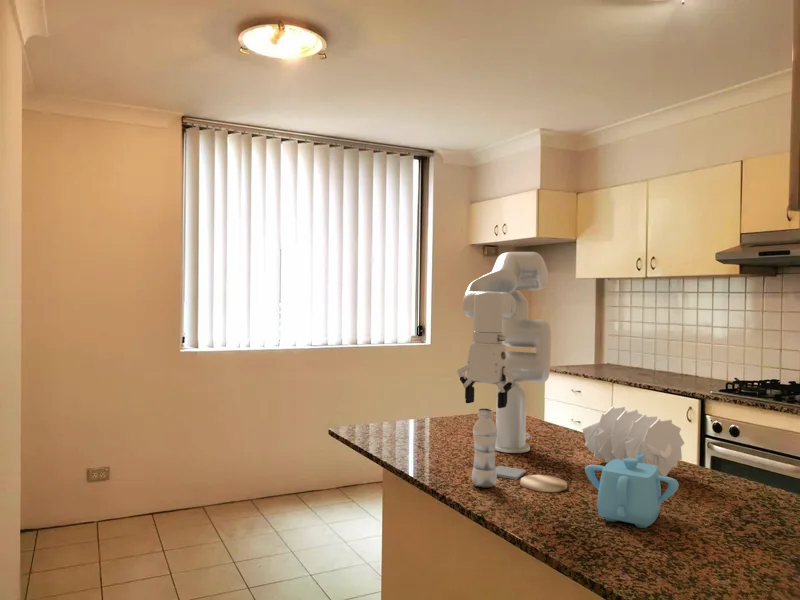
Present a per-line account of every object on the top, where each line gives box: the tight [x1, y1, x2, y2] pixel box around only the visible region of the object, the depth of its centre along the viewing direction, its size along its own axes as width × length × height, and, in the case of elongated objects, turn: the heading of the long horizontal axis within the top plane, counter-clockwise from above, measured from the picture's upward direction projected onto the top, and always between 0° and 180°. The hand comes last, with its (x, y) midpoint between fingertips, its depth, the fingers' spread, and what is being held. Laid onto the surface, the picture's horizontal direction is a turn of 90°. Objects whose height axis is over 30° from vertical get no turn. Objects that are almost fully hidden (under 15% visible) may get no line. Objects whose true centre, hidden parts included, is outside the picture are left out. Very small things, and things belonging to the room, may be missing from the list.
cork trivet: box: [520, 474, 568, 493], centre depth 160 cm, size 12×12×1 cm
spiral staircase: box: [582, 406, 685, 477], centre depth 175 cm, size 18×18×25 cm
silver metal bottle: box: [471, 408, 498, 488], centre depth 157 cm, size 6×7×20 cm
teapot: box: [584, 453, 680, 529], centre depth 138 cm, size 18×16×14 cm
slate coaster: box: [495, 465, 527, 481], centre depth 169 cm, size 8×8×1 cm
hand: (485, 405), depth 157 cm, fingers open, 9 cm apart
